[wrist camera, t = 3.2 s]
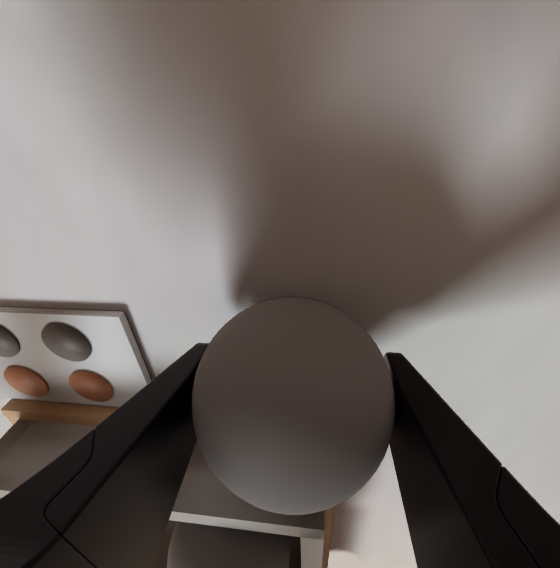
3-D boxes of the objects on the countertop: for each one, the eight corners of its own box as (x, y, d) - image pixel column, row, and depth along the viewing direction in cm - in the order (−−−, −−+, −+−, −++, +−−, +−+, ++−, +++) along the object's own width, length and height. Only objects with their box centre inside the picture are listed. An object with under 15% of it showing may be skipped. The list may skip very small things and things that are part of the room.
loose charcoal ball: (388, 264, 8) (454, 440, 4) (368, 385, 11) (397, 567, 7) (212, 261, 9) (115, 412, 5) (234, 377, 12) (184, 539, 7)
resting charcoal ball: (293, 461, 13) (278, 634, 9) (295, 512, 16) (285, 663, 12) (183, 451, 14) (123, 607, 10) (203, 501, 17) (163, 641, 12)
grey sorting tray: (349, 320, 10) (361, 419, 7) (325, 573, 22) (325, 645, 19) (-74, 303, 11) (-204, 375, 9) (125, 545, 24) (99, 606, 21)
